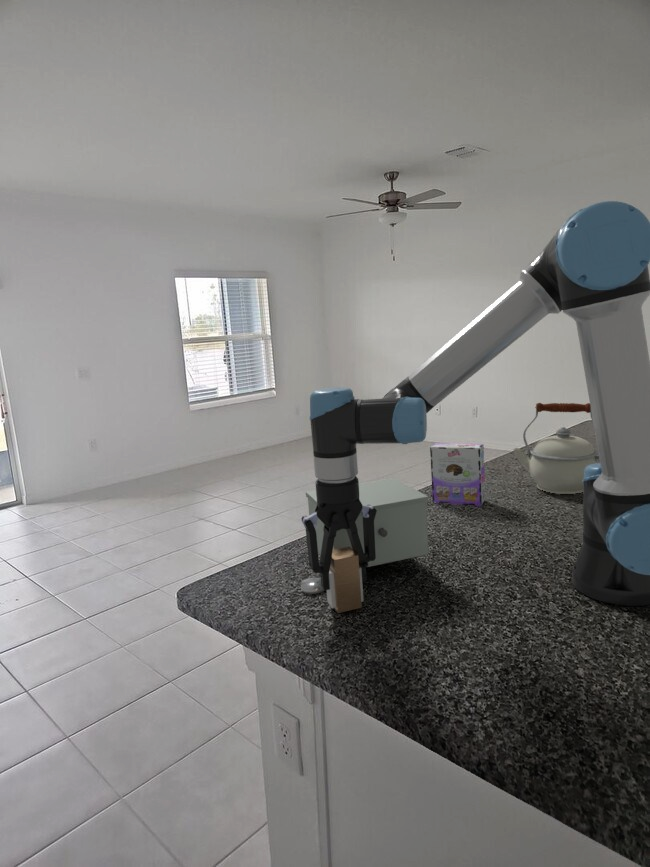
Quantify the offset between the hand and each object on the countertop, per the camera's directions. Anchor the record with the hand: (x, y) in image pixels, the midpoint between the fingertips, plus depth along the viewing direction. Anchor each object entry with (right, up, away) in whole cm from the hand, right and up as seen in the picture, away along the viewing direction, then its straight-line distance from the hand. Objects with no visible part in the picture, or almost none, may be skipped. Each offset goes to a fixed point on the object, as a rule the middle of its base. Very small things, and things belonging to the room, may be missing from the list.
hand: (345, 601), depth 100 cm
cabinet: (+6, +2, +17) cm, 18 cm away
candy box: (+34, +11, +55) cm, 65 cm away
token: (-6, 0, +9) cm, 11 cm away
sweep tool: (-2, 0, +5) cm, 5 cm away
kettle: (+64, +15, +61) cm, 90 cm away
